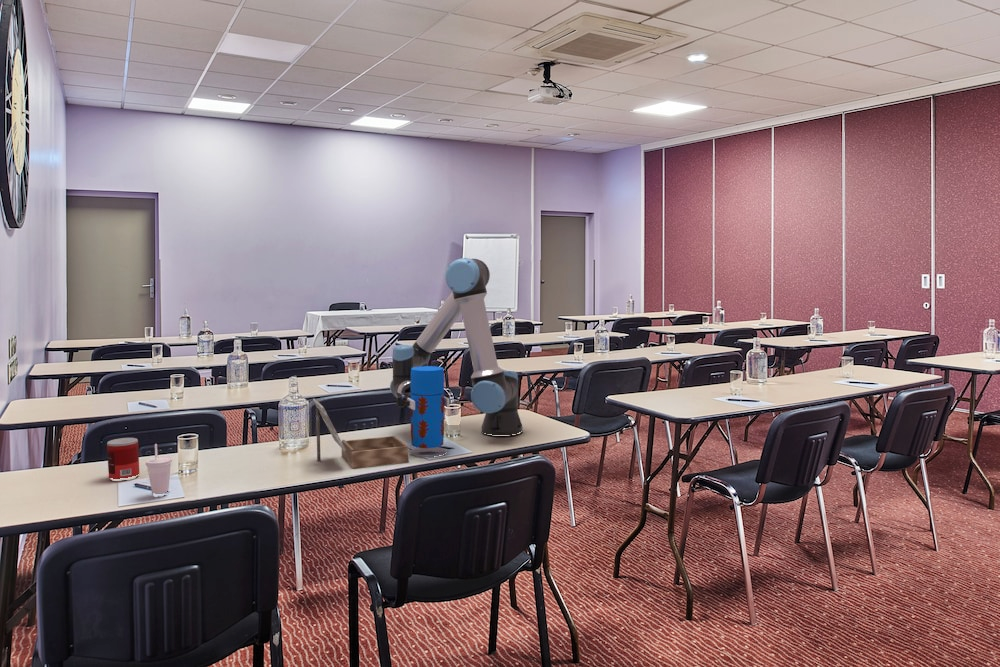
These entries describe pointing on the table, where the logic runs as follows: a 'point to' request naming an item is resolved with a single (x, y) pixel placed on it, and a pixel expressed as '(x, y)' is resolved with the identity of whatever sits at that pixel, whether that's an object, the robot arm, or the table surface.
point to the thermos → (427, 407)
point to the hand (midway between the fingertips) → (431, 404)
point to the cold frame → (364, 446)
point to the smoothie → (159, 473)
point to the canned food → (123, 458)
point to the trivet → (427, 452)
